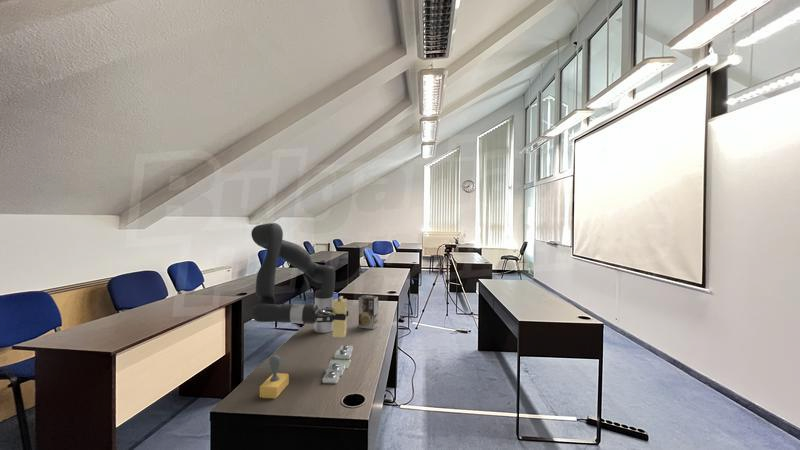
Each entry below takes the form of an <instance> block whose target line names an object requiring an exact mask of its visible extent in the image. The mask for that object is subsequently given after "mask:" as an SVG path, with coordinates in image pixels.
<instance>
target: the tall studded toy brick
mask: <svg viewBox="0 0 800 450" xmlns="http://www.w3.org/2000/svg"><path fill="white" fill-rule="evenodd" d="M347 311H348V298H344V295H339V296H338V297H337V298H334V299H333V314H346V319H345V320H335V321H333V330H332V338H344V339H345V337H346V335H347V325H348V321H347V320H348V318H347V317H348V316H347Z"/></svg>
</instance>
